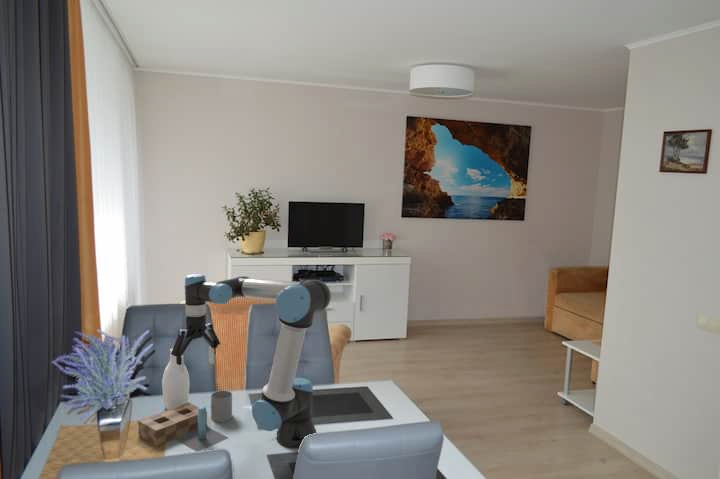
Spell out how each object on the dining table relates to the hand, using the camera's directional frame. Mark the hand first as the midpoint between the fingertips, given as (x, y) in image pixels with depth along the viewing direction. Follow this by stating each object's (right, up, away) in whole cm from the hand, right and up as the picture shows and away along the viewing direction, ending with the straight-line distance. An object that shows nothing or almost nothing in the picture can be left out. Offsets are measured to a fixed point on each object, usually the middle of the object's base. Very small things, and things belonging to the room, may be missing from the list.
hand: (196, 367), depth 210 cm
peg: (+4, -25, -7) cm, 26 cm away
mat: (+4, -25, -7) cm, 26 cm away
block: (-9, -24, -1) cm, 26 cm away
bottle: (-15, -22, +20) cm, 33 cm away
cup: (+7, -24, +11) cm, 27 cm away
